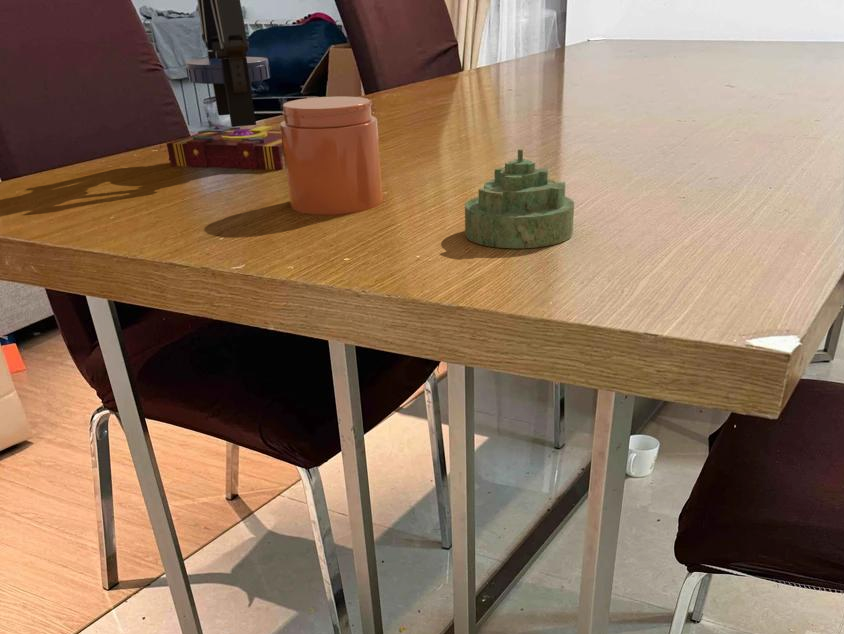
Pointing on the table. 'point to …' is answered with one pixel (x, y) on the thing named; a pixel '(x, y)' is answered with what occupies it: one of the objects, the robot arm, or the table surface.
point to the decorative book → (230, 149)
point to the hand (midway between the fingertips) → (236, 119)
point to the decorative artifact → (519, 209)
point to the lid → (213, 74)
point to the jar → (331, 155)
